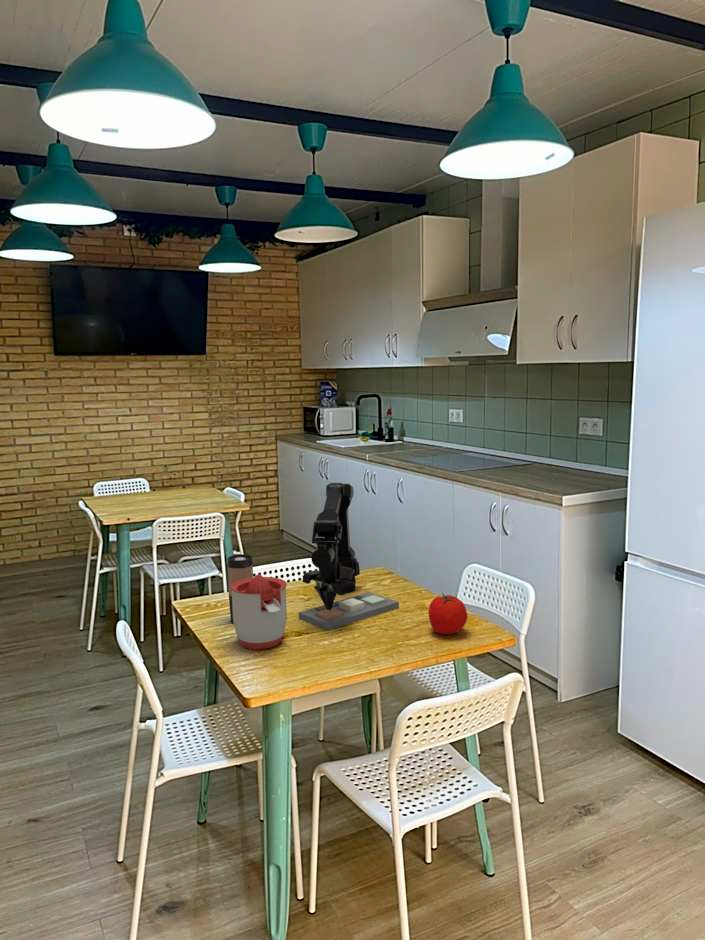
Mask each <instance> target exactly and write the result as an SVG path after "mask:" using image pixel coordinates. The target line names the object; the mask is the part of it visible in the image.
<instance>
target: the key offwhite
mask: <svg viewBox="0 0 705 940" xmlns="http://www.w3.org/2000/svg"><path fill="white" fill-rule="evenodd" d="M339 609H342V610H345V611H347V612H350V613H351V612H355V611H358V610H361V609H364V602H362V601H359V600H357V599H354V598H351V599H348V600H344V601H341V602H339Z"/></svg>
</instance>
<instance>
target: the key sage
mask: <svg viewBox="0 0 705 940" xmlns="http://www.w3.org/2000/svg"><path fill="white" fill-rule="evenodd" d="M361 601H362V602H364V603H365V604H368V605H371V606H374V605H377V604H381V603H384V602H386V599H384V598H381V597H378V596H375V595H372V596H369V597H366V598H362V599H361Z"/></svg>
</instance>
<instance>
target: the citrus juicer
mask: <svg viewBox="0 0 705 940" xmlns="http://www.w3.org/2000/svg"><path fill="white" fill-rule="evenodd" d="M287 586H288V584H287V581H286V580H284V579H282V578H279V577H271V576H263V575H261V574H260V573H258V574H256V575H255V576H253V578H247V579H242V580H239V581H237V582H235V583H233V584H232V585H231V589H232V608H233V622H234V624H233V626H234V627H233V628H234V631H235V633H236V637H237V640H238V641H239V644H240V645H241V646H242V647H244V648H246V649H250V650H252V651H253V650H254V651H258V650H266V649H270V648H273V647H276V646H278V645H280V644H281V642H282V640H283V637H284V636H285V630H286V627H287V620H288V619H287V618H288V617H287V616H288V614H287V612H288V611H287Z"/></svg>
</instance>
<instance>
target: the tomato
mask: <svg viewBox="0 0 705 940" xmlns="http://www.w3.org/2000/svg"><path fill="white" fill-rule="evenodd" d="M441 593H442V596H436V597H434V598H433V599H432V601H431V602H430V604H429V606H428V618H429V619H428V620H429V622H430V626H431V628H432V629H433V631H434V632H435V633H436V634H442V635H450V634H456V633H458V632H460V631H461V630H463V628H464V627H465V625H466V623H467V620H468V612H467V608H466V605H465V604H464V602H463V601H462V600H461V599H460V598H458V597H457V596H453V595H450V594H446V595H445V594H444V592H441Z"/></svg>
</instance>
